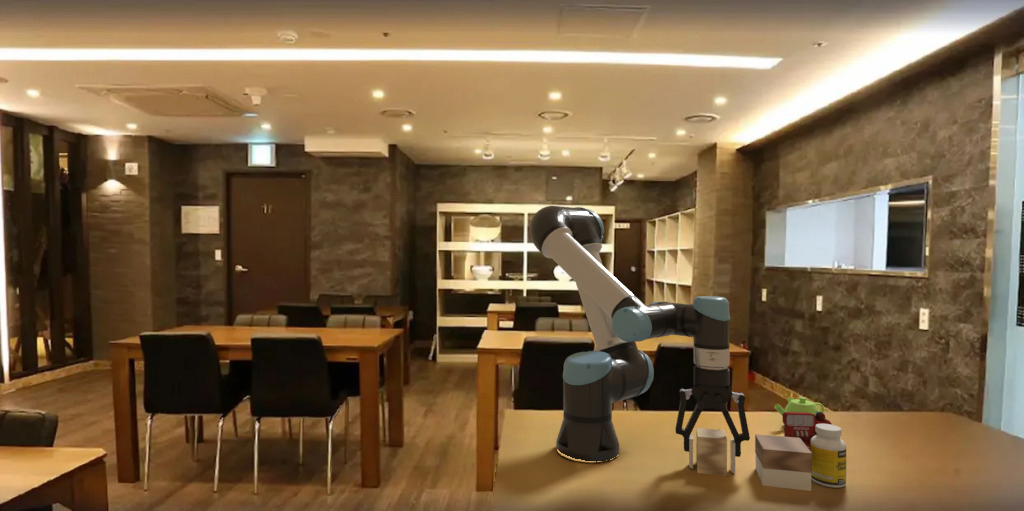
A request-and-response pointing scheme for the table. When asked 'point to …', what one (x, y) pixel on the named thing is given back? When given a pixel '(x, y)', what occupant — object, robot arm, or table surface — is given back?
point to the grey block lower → (783, 478)
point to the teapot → (800, 406)
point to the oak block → (711, 451)
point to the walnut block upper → (783, 453)
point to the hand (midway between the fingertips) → (711, 467)
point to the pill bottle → (828, 456)
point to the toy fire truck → (802, 425)
